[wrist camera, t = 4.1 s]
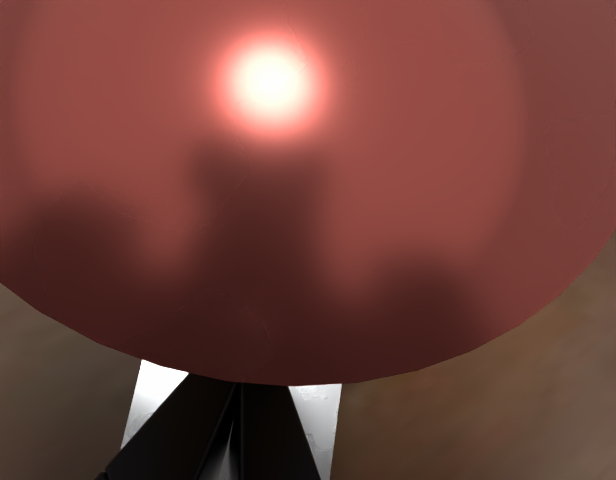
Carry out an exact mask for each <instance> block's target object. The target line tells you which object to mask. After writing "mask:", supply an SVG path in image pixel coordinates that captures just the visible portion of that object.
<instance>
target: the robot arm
mask: <svg viewBox="0 0 616 480" xmlns="http://www.w3.org/2000/svg"><path fill="white" fill-rule="evenodd" d="M231 428H232V429H231ZM230 433H231V435H230ZM229 438H230V441H229ZM228 442H229V449H228V460H227V474H226V480H321V477H320V475H319V472H318V469H317V466H316V463H315V460H314V457H313V455H312V452H311V449H310V446H309V443H308V440H307V437H306V435H305V432H304V429H303V426H302V423H301V420H300V418H299V415H298V412H297V409H296V406H295V403H294V400H293V398H292V395H291V392H290V389H289V386H280V385H268V384H256V383H243V382H231V381H224V380H219V379H215V378H210V377H206V376H201V375H197V374H192V373H188V374H187V375H186V377H185V378H184V379H183V380H182V381H181V382H180V383H179V384H178V386H177V387H176V388H175V389H174V390H173V391H172V392H171V394H170V395H169V396H168V397H167V398H166V399H165V400H164V401H163V403H162V404H161V405H160V406H159V407H158V408H157V409H156V411H155V412H154V413H153V414H152V415H151V416H150V417H149V418H148V420H147V421H146V422H145V423H144V424H143V425H142V426H141V427H140V429H139V430H138V431H137V432H136V433H135V434H134V435H133V437H132V438H131V439H130V440H129V441H128V442H127V443H126V444H125V446H124V447H123V448H122V449H121V450H120V451H119V452H118V454H117V455H116V456H115V457H114V458H113V459H112V460H111V461H110V463H109V464H108V465H107V466H106V467H105V472H101V473H100V474H99V475H98V476H97V477H96V478H95V479H94V480H217V479H218V476H219V473H220V470H221V466H222V463H223V460H224V457H225V453H226V450H227V446H228Z"/></svg>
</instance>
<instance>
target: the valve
mask: <svg viewBox="0 0 616 480" xmlns="http://www.w3.org/2000/svg"><path fill="white" fill-rule="evenodd" d="M615 229H616V0H0V283H1V284H3V285H4V286H6V287H7V288H8V289H10V290H11V291H12V292H14V293H15V294H16V295H18V296H19V297H20V298H22V299H23V300H24V301H26V302H27V303H28V304H30V305H31V306H32V307H34V308H35V309H36V310H38V311H39V312H41V313H43V314H45V315H47V316H49V317H51V318H52V319H54V320H56V321H58V322H60V323H62V324H64V325H65V326H67V327H69V328H71V329H73V330H75V331H76V332H78V333H80V334H82V335H84V336H86V337H88V338H89V339H91V340H93V341H95V342H97V343H99V344H102V345H104V346H107V347H110V348H113V349H115V350H118V351H121V352H123V353H126V354H129V355H131V356H134V357H137V358H139V359H142V360H145V361H148V362H150V363H153V364H156V365H158V366H161V367H165V368H170V369H174V370H179V371H183V372H188V373H192V374H197V375H201V376H206V377H210V378H215V379H219V380H224V381H231V382H243V383H256V384H268V385H280V386H310V385H327V384H344V383H358V382H363V381H368V380H373V379H378V378H383V377H388V376H393V375H398V374H403V373H408V372H412V371H417V370H420V369H423V368H425V367H428V366H431V365H434V364H437V363H439V362H442V361H445V360H448V359H450V358H453V357H456V356H459V355H462V354H464V353H467V352H470V351H472V350H474V349H476V348H478V347H480V346H481V345H483V344H485V343H487V342H489V341H491V340H493V339H495V338H496V337H498V336H500V335H502V334H504V333H506V332H508V331H509V330H511V329H513V328H515V327H517V326H519V325H520V324H522V323H523V322H524V321H526V320H527V319H528V318H530V317H531V316H532V315H534V314H535V313H536V312H538V311H539V310H540V309H542V308H543V307H544V306H546V305H547V304H548V303H550V302H551V301H552V300H554V299H555V298H556V297H558V296H559V295H560V294H561V293H562V292H563V291H564V290H565V289H566V288H567V287H568V286H569V285H570V284H571V283H572V282H573V281H574V280H575V279H576V278H577V277H578V276H579V275H580V274H581V273H582V272H583V271H584V270H585V269H586V267H587V266H588V265H589V264H590V263H591V262H592V261H593V260H594V259H595V258H596V256H597V255H598V254H599V252H600V251H601V249H602V248H603V246H604V245H605V244H606V242H607V241H608V239H609V238H610V237H611V235H612V234H613V232H614V231H615Z"/></svg>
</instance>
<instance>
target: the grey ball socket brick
mask: <svg viewBox="0 0 616 480" xmlns="http://www.w3.org/2000/svg"><path fill="white" fill-rule="evenodd" d="M187 374H188V372H183V371H179V370H174V369H170V368H165V367H161V366H158V365H156V364H153V363H150V362H148V361H145V360H142V363H141V367H140V371H139V376H138V380H137V384H136V388H135V392H134V396H133V400H132V404H131V408H130V413H129V417H128V421H127V425H126V429H125V433H124V437H123V441H122V445H121V449H122V448H123V447H124V446H125V444H126V443H127V442H128V441H129V440H130V439H131V438H132V437H133V435H134V434H135V433H136V432H137V431H138V430H139V429H140V427H141V426H142V425H143V424H144V423H145V422H146V421H147V420H148V418H149V417H150V416H151V415H152V414H153V413H154V412H155V411H156V409H157V408H158V407H159V406H160V405H161V404H162V403H163V401H164V400H165V399H166V398H167V397H168V396H169V395H170V394H171V392H172V391H173V390H174V389H175V388H176V387H177V386H178V384H179V383H180V382H181V381H182V380H183V379H184V378H185V377H186V375H187ZM341 386H342V384H327V385H310V386H289V389H290V392H291V395H292V398H293V400H294V403H295V406H296V409H297V412H298V415H299V418H300V420H301V423H302V426H303V429H304V432H305V435H306V437H307V440H308V443H309V446H310V449H311V452H312V455H313V457H314V460H315V463H316V466H317V469H318V472H319V475H320V477H321V480H329V479H330V471H331V463H332V456H333V448H334V440H335V432H336V425H337V417H338V409H339V401H340V394H341ZM231 429H232V428H231ZM230 435H231V433H230ZM229 441H230V438H229ZM228 449H229V442H228V446H227V450H226V453H225V457H224V460H223V463H222V466H221V470H220V473H219V476H218V479H217V480H226V474H227V460H228Z"/></svg>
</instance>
